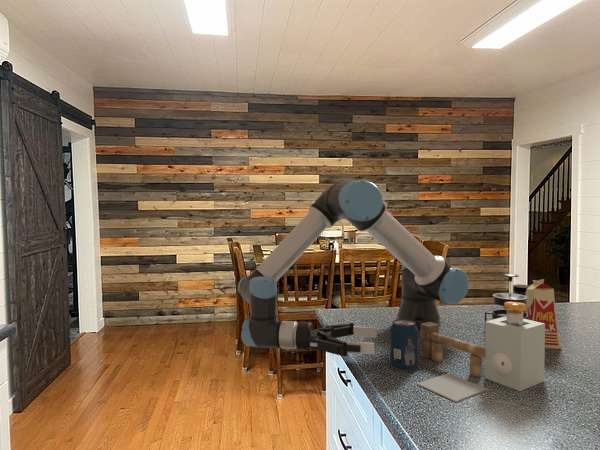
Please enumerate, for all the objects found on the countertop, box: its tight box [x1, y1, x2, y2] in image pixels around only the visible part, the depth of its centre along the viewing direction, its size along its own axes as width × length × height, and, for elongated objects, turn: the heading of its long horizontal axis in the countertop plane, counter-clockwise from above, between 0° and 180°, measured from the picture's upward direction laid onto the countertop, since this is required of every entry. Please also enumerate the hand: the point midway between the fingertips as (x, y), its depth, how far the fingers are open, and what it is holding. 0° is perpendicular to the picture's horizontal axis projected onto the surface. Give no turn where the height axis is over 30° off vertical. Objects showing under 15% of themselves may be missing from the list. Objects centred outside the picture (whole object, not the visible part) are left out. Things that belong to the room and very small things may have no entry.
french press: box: [483, 273, 528, 342], centre depth 120 cm, size 12×9×23 cm
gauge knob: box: [503, 302, 526, 327], centre depth 104 cm, size 5×5×7 cm
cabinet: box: [484, 315, 546, 392], centre depth 104 cm, size 9×12×14 cm
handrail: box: [419, 322, 485, 378], centre depth 114 cm, size 20×4×9 cm, turn 32°
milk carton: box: [523, 278, 563, 350], centre depth 131 cm, size 9×9×20 cm
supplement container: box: [512, 283, 531, 295], centre depth 167 cm, size 7×7×10 cm
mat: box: [416, 372, 488, 403], centre depth 101 cm, size 11×11×1 cm
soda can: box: [390, 318, 419, 372], centre depth 113 cm, size 7×7×12 cm
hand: (375, 340), depth 114 cm, fingers open, 13 cm apart
